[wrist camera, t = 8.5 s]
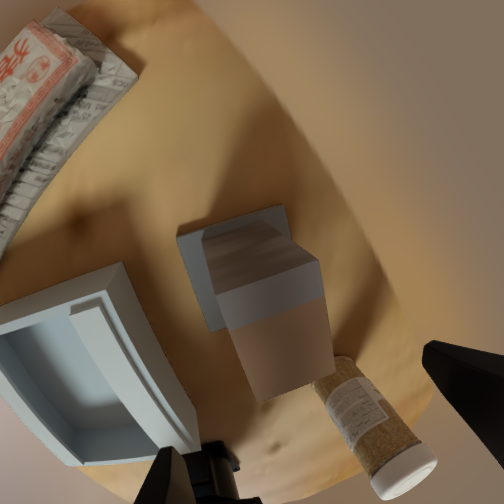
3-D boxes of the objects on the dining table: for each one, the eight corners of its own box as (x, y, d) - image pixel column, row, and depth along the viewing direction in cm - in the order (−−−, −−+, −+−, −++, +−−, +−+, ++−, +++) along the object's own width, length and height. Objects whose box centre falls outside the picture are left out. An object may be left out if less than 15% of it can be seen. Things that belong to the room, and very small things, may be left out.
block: (262, 220, 18) (318, 259, 11) (283, 302, 20) (336, 371, 13) (201, 240, 18) (215, 295, 10) (229, 321, 20) (257, 403, 12)
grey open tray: (195, 409, 22) (202, 454, 18) (75, 431, 20) (66, 469, 16) (122, 260, 18) (103, 292, 13) (-9, 309, 16) (-39, 340, 11)
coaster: (301, 296, 21) (304, 300, 21) (209, 328, 20) (210, 332, 20) (281, 203, 19) (284, 205, 18) (175, 236, 18) (175, 238, 17)
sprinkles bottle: (357, 374, 25) (437, 471, 13) (316, 398, 25) (384, 507, 13) (347, 344, 24) (443, 451, 11) (301, 370, 23) (379, 495, 11)
